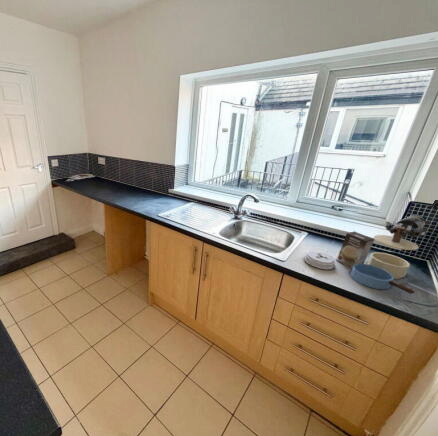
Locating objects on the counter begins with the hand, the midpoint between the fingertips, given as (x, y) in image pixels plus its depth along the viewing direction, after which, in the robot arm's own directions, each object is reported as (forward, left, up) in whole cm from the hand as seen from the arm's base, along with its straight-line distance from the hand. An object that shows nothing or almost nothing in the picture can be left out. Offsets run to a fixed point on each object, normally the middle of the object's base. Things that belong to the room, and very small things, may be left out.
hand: (397, 232), depth 107 cm
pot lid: (0, -3, -6) cm, 6 cm away
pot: (+1, -5, -21) cm, 22 cm away
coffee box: (+11, +5, -21) cm, 24 cm away
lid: (+17, +19, -21) cm, 33 cm away
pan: (-5, +11, -21) cm, 25 cm away
